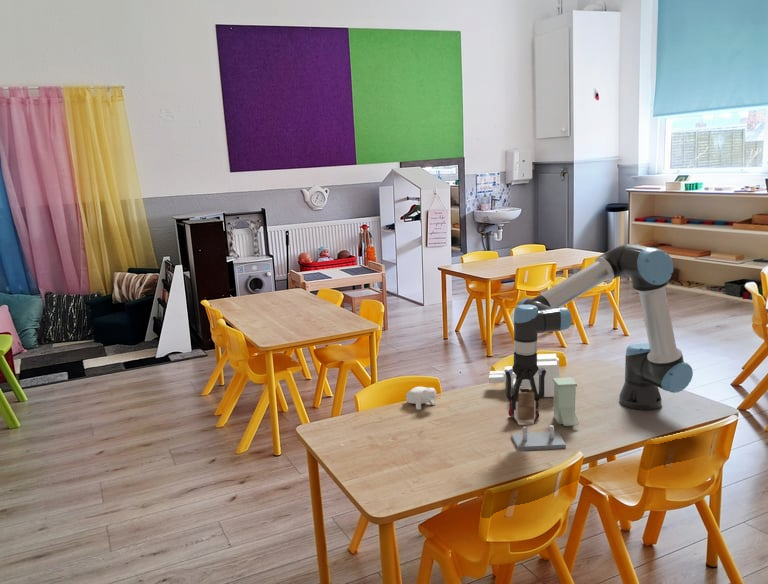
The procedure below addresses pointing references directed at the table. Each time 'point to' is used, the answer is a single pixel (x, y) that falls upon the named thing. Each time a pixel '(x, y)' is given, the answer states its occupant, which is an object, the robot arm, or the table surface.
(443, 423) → the table surface
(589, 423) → the table surface
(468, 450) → the table surface
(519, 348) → the robot arm
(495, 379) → the white voxel figure
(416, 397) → the white blocky animal toy
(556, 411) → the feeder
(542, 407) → the table surface
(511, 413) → the toy fire truck
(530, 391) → the sleeve
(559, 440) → the pinboard
